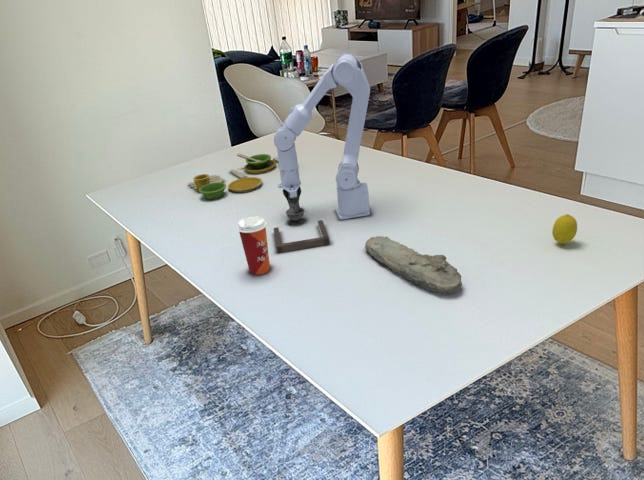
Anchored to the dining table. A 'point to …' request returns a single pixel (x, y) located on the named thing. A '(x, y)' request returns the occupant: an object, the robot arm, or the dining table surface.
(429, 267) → the elongated rock
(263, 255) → the paper cup
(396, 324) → the dining table surface
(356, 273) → the dining table surface
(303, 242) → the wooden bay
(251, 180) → the tableware set
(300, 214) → the salt shaker
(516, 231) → the dining table surface
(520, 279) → the dining table surface
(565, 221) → the lemon
